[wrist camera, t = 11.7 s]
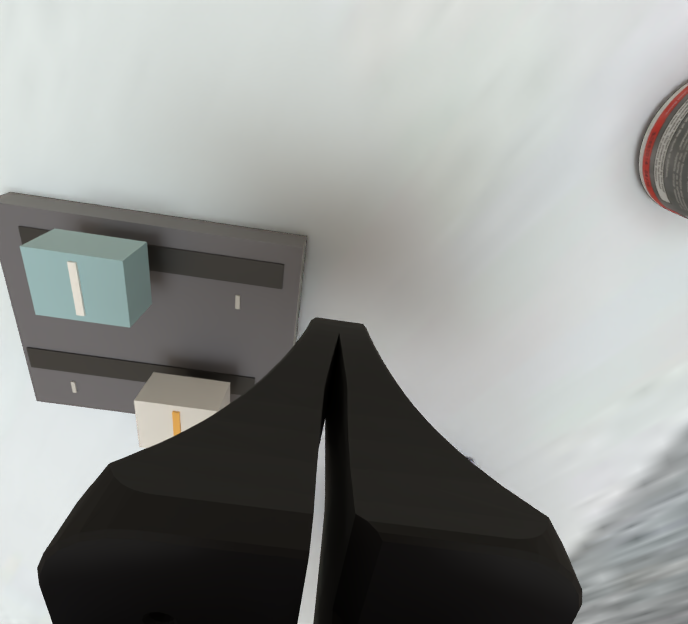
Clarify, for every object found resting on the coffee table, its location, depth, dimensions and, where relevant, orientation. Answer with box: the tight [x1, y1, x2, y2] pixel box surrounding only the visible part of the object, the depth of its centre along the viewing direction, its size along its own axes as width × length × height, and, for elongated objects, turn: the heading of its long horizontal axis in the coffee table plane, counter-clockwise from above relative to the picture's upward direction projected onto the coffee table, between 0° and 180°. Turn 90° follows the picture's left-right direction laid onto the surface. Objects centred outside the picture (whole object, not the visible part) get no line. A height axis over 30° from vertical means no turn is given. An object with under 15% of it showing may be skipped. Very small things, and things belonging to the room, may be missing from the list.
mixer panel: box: [0, 192, 307, 414], centre depth 22 cm, size 11×14×2 cm
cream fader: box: [134, 372, 230, 448], centre depth 21 cm, size 3×4×3 cm
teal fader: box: [20, 229, 152, 328], centre depth 17 cm, size 3×4×3 cm
